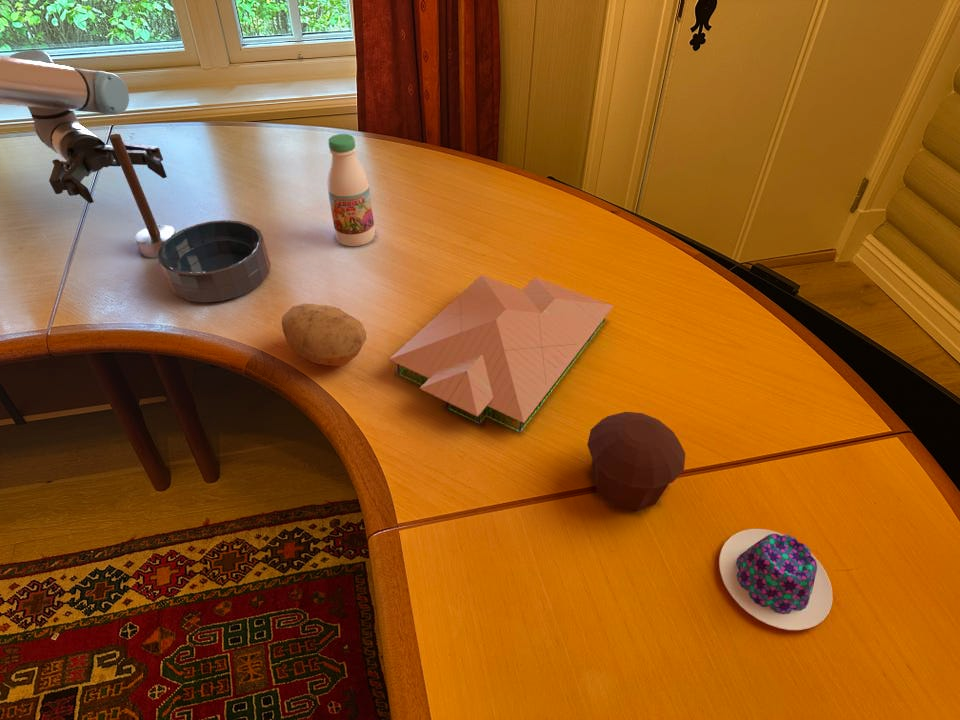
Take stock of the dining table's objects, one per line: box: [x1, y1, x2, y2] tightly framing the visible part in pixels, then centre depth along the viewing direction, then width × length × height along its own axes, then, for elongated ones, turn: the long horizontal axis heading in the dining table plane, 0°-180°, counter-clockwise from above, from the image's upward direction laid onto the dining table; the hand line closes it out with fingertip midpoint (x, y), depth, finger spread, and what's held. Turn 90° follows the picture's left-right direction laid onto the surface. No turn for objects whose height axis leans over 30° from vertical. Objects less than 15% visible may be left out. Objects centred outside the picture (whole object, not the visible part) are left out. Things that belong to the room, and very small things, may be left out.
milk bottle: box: [326, 133, 376, 247], centre depth 113 cm, size 8×8×20 cm
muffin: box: [586, 411, 686, 512], centre depth 74 cm, size 12×11×10 cm
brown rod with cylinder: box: [108, 133, 177, 259], centre depth 109 cm, size 7×7×22 cm
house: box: [388, 274, 615, 433], centre depth 93 cm, size 23×33×8 cm
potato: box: [281, 303, 367, 367], centre depth 92 cm, size 10×14×8 cm
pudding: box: [718, 528, 833, 631], centre depth 66 cm, size 12×12×5 cm
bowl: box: [157, 219, 272, 303], centre depth 108 cm, size 17×17×6 cm
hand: (127, 183), depth 111 cm, fingers open, 13 cm apart
